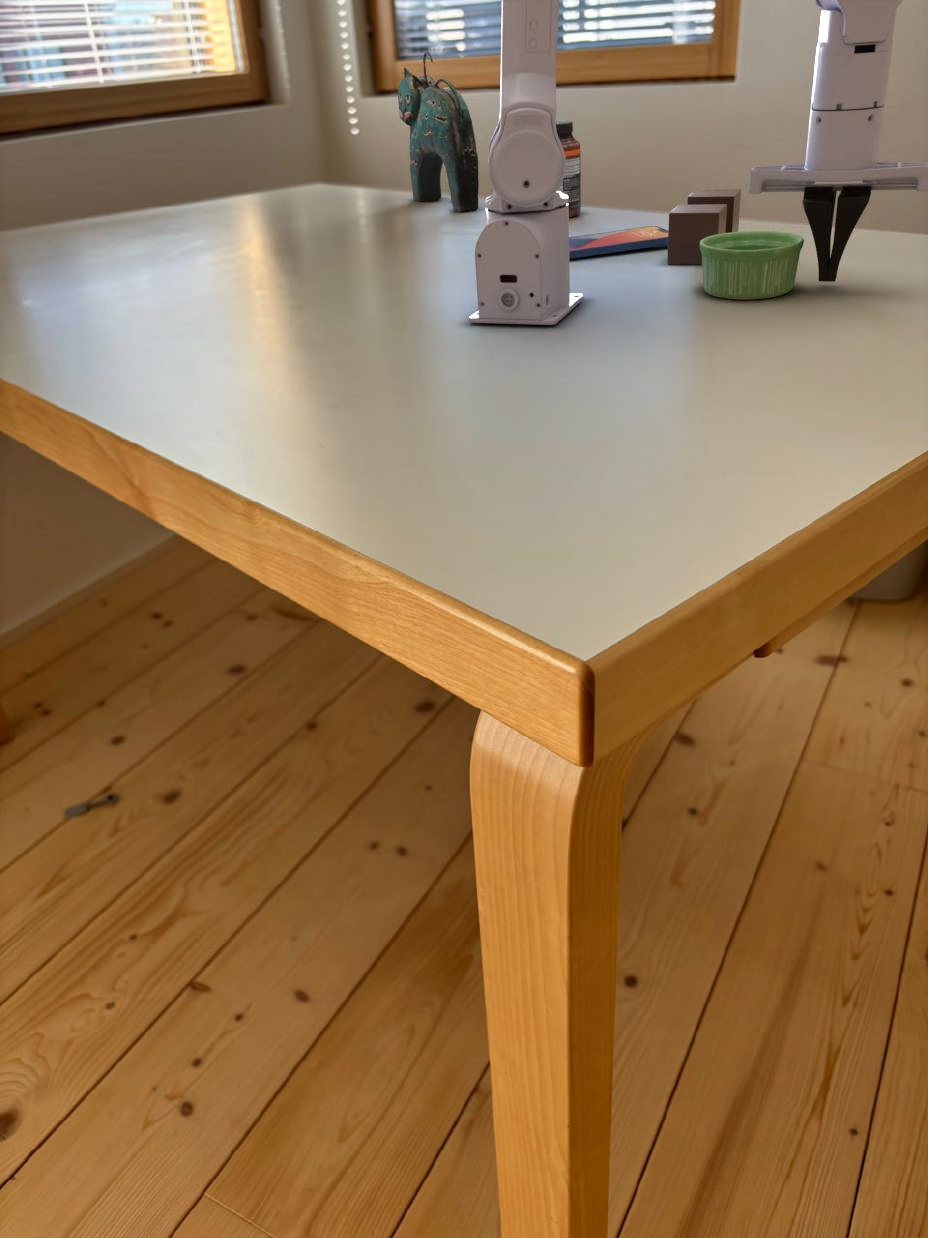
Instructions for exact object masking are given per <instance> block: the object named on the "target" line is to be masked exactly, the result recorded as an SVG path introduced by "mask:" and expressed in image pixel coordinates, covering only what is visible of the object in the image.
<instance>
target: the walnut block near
mask: <svg viewBox="0 0 928 1238" xmlns="http://www.w3.org/2000/svg"><path fill="white" fill-rule="evenodd" d="M726 215H727V204H704V205H687V204H678V205H677V206H676V207H675V208H673V209H672V210H671V211H670V212H669V213H668V230H669V231H668V246H667V259H666V261H667V265H671V266H673V265H682V266H683V265H685V266H687V265H688V266H691V265H693V266H695V265H696V266H700V265H701V266H702V253H701V250H700V241H701V240H702V239H704V238H706V237H709V236H712V235H717V234H723V233H725V231H726Z"/></svg>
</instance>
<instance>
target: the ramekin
mask: <svg viewBox="0 0 928 1238" xmlns="http://www.w3.org/2000/svg"><path fill="white" fill-rule="evenodd" d="M804 243H805V240H804V238H803V237H802V236H801V235H799V234H795V233H792V232H785V231H776V230H746V231H745V230H743V231H738V232H730V233H723V234H717V235H712V236H709V237H706V238H704V239H702V240H701V241H700V250H701V253H702V265H701V267H702V269H701V270H702V288H703V290H704V292H705V293H707V294H708V295H710V296H713V297H716V298H721V299H728V300H761V299H769V298H775V297H779V296H783V295H786V294H787V293H789V292H791V290H793V289H794V286H795V282H796V278H797V277H796V276H797V271H798V266H799V260H800V255H801V251H802V249H803V247H804Z"/></svg>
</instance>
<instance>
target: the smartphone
mask: <svg viewBox="0 0 928 1238" xmlns="http://www.w3.org/2000/svg"><path fill="white" fill-rule="evenodd" d="M668 231H669V229H666V228H664V227H660V226H658V225H648V226H641V227H633V228H627V229H626V228H625V229H619V230H612V231H604V232H597V233H591V234H584V235H576V236H569V260H570V259H578V258H586V257H591V256H597V255H605V254H611V253H613V254H614V253H618V252H619V253H620V252H627V251H632V250H633V251H634V250H641V249H646V248H662V247H668Z"/></svg>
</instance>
